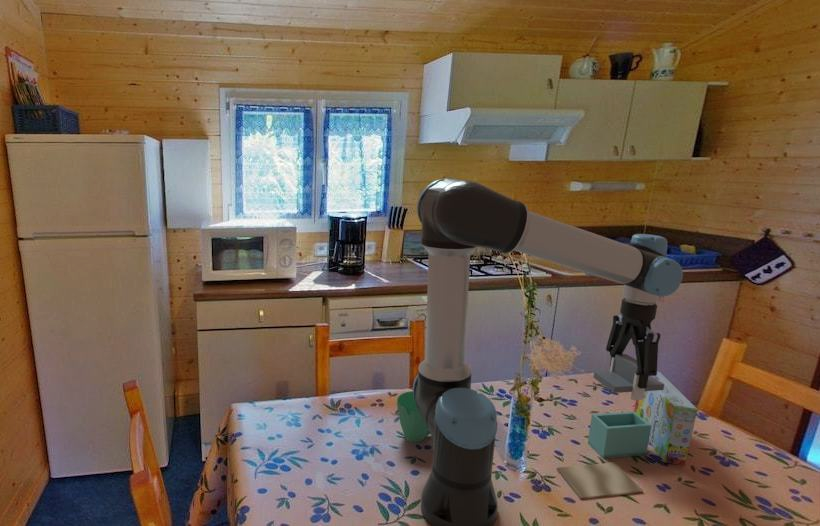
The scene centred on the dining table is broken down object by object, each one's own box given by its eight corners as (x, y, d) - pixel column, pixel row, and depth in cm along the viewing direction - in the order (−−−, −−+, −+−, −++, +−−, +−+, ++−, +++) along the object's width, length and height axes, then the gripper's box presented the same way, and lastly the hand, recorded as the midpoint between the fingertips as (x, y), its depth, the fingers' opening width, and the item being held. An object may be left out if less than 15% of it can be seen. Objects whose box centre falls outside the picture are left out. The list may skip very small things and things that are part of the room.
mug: (398, 449, 113) (400, 411, 110) (392, 427, 122) (394, 391, 120) (457, 445, 115) (460, 408, 113) (446, 423, 125) (449, 389, 123)
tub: (602, 458, 113) (607, 428, 111) (587, 443, 119) (591, 414, 118) (646, 454, 116) (651, 425, 114) (629, 439, 122) (633, 411, 120)
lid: (613, 396, 109) (617, 368, 107) (592, 381, 116) (596, 354, 115) (662, 394, 112) (667, 366, 110) (639, 379, 119) (644, 353, 118)
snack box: (688, 466, 112) (699, 408, 109) (663, 464, 112) (674, 406, 109) (651, 419, 133) (660, 370, 130) (631, 417, 133) (639, 368, 130)
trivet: (580, 499, 99) (580, 497, 98) (556, 469, 108) (556, 467, 108) (642, 492, 102) (643, 490, 102) (614, 463, 111) (614, 462, 111)
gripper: (687, 314, 100) (669, 411, 105) (625, 288, 120) (612, 371, 125) (657, 314, 99) (640, 413, 103) (599, 288, 119) (586, 372, 123)
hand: (624, 390), depth 114 cm, fingers closed on lid, 8 cm apart
